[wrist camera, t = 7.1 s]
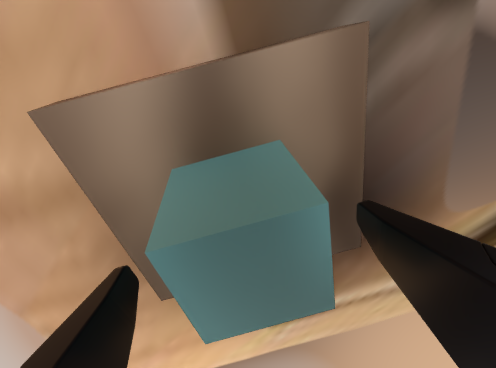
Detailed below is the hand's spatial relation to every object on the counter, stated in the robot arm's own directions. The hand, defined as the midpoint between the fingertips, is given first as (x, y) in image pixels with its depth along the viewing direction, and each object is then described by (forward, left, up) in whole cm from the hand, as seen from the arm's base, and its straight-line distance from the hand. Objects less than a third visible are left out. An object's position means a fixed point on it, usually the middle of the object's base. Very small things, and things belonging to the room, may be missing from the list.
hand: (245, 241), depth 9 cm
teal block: (0, 0, -3) cm, 3 cm away
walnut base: (0, 0, -5) cm, 5 cm away
